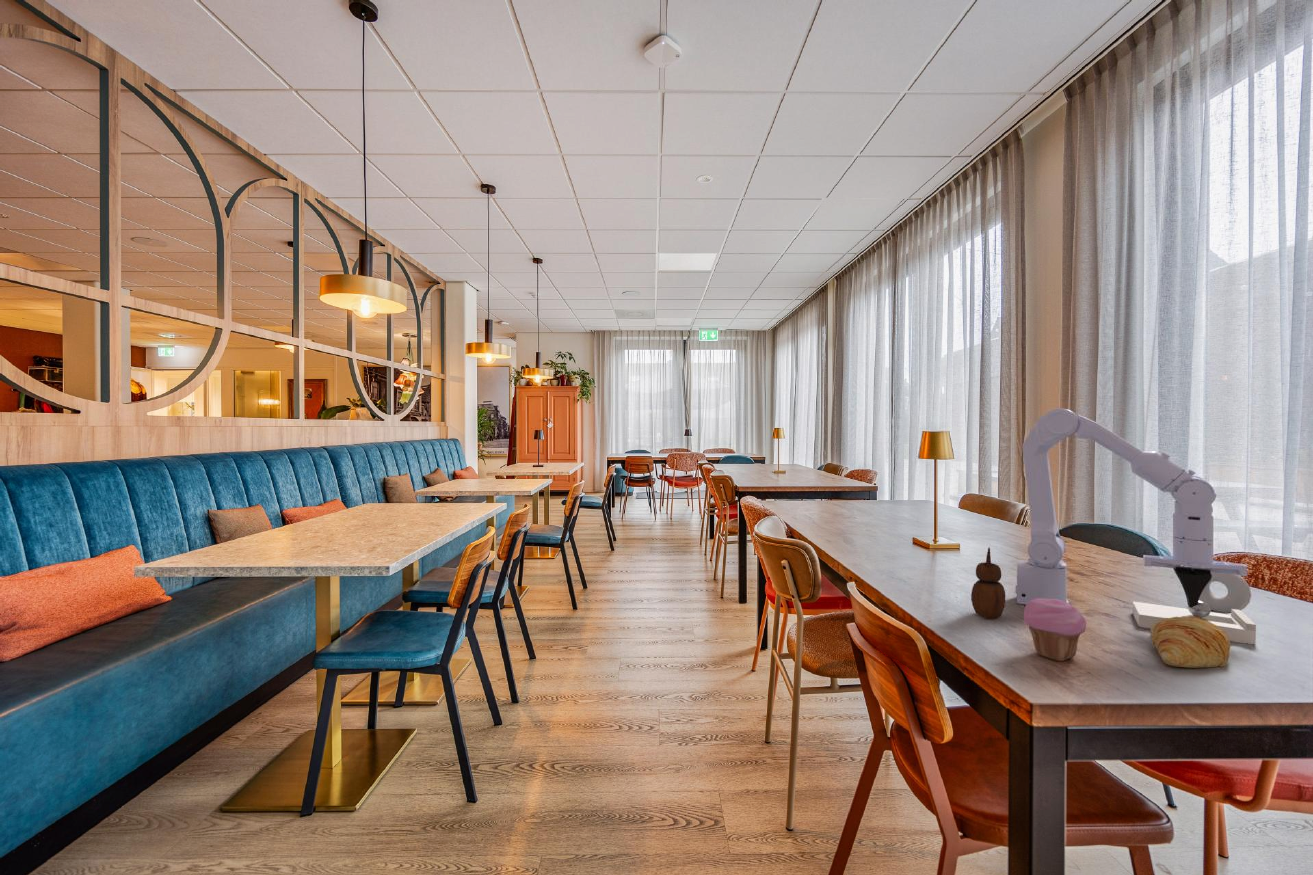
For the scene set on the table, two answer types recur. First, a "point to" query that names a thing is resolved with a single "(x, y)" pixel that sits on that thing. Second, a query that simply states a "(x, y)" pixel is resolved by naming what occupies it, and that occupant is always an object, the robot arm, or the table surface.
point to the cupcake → (1054, 627)
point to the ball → (1200, 609)
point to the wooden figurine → (988, 590)
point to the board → (1232, 625)
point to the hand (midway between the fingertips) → (1192, 606)
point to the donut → (1233, 600)
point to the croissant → (1190, 642)
